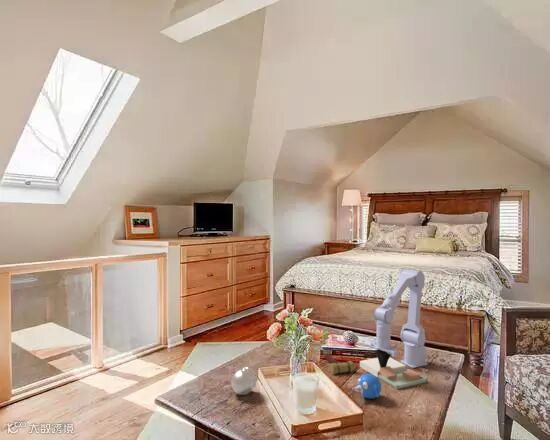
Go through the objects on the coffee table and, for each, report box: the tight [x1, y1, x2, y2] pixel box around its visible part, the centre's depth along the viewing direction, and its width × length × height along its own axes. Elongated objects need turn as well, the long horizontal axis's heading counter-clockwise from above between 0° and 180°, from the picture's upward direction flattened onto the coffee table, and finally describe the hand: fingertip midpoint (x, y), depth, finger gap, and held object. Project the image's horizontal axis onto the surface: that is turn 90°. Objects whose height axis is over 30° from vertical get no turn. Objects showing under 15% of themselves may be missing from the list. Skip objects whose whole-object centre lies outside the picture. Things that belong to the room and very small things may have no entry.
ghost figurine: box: [230, 366, 257, 396], centre depth 136 cm, size 9×10×10 cm
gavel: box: [323, 353, 355, 375], centre depth 164 cm, size 21×5×10 cm
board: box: [359, 357, 407, 378], centre depth 160 cm, size 16×12×2 cm
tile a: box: [402, 369, 421, 381], centre depth 150 cm, size 5×5×2 cm
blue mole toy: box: [351, 373, 382, 400], centre depth 134 cm, size 12×12×8 cm
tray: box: [377, 367, 428, 390], centre depth 149 cm, size 16×11×2 cm
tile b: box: [379, 366, 397, 380], centre depth 150 cm, size 5×5×2 cm
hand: (383, 367), depth 153 cm, fingers closed
